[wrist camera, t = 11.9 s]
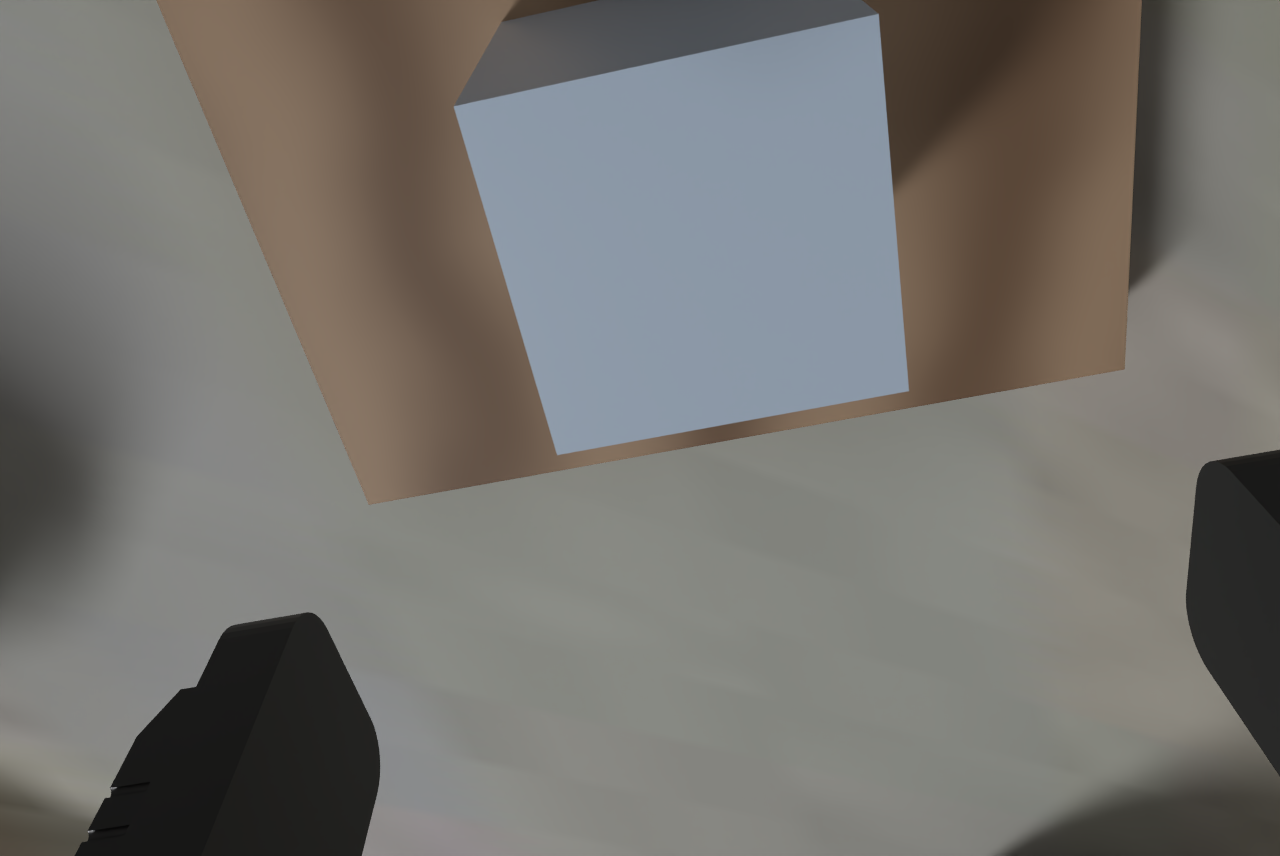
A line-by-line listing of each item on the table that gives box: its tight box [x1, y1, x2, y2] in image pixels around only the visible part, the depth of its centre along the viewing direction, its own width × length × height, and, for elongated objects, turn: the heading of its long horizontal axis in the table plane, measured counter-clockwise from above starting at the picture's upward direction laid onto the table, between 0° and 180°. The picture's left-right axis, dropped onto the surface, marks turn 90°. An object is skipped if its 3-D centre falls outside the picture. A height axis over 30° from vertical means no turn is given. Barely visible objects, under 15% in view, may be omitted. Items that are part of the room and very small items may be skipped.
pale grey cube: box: [454, 0, 909, 455], centre depth 20 cm, size 6×6×7 cm
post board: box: [157, 0, 1142, 505], centre depth 22 cm, size 20×16×8 cm
